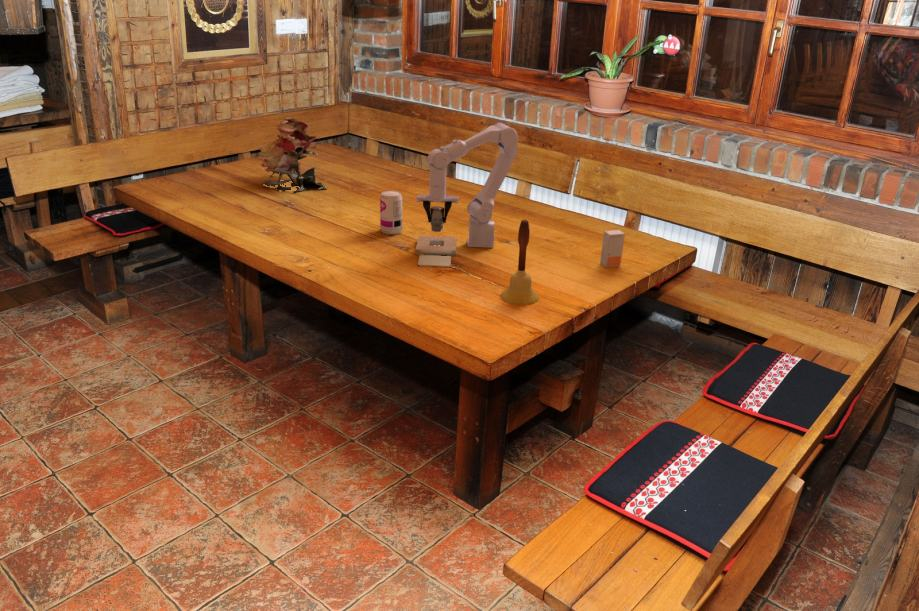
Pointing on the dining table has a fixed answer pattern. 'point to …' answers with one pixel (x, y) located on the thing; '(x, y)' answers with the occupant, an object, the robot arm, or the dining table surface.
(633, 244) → the dining table surface
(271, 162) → the rose bouquet
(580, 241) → the dining table surface
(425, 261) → the pad
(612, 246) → the skincare box
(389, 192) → the supplement can
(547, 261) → the dining table surface
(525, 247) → the handbell
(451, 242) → the housing plate
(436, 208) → the grey metal cylinder
